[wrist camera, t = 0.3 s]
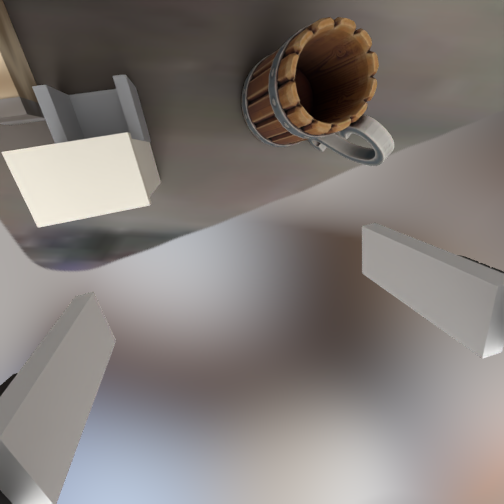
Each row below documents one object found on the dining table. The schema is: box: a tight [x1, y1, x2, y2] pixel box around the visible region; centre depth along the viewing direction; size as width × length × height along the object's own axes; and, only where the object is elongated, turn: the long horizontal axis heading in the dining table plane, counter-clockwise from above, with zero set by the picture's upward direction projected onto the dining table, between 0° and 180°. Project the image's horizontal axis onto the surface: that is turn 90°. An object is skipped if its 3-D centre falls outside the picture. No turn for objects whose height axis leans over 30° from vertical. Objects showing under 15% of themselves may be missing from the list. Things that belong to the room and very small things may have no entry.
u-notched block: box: [2, 75, 161, 227], centre depth 27 cm, size 11×9×15 cm
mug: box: [241, 17, 394, 166], centre depth 30 cm, size 16×11×15 cm
